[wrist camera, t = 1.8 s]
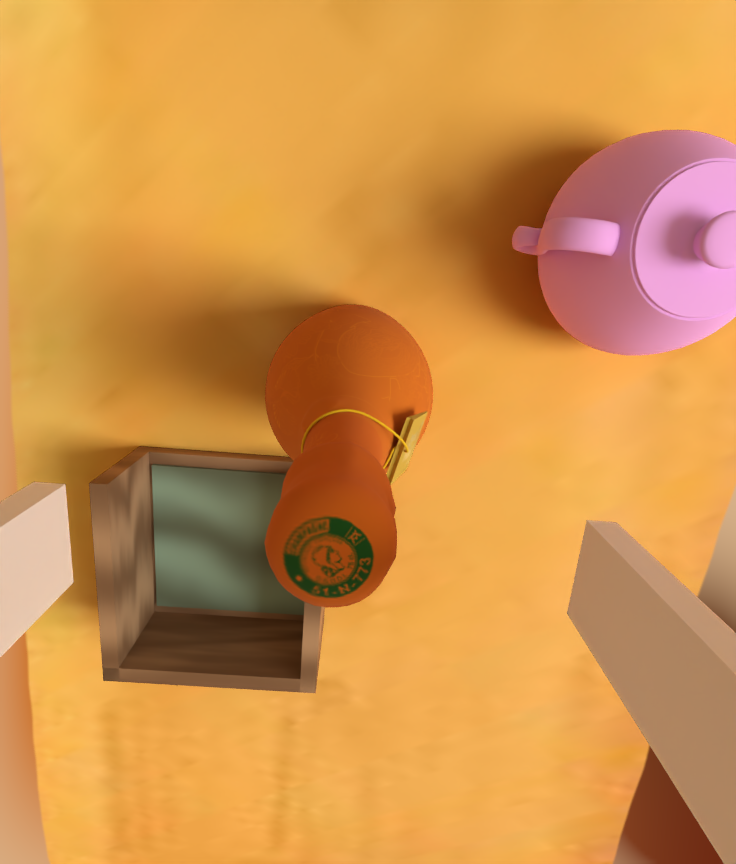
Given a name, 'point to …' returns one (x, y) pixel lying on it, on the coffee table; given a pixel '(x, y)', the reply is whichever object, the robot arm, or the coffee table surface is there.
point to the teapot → (642, 244)
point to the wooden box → (197, 574)
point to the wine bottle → (342, 449)
